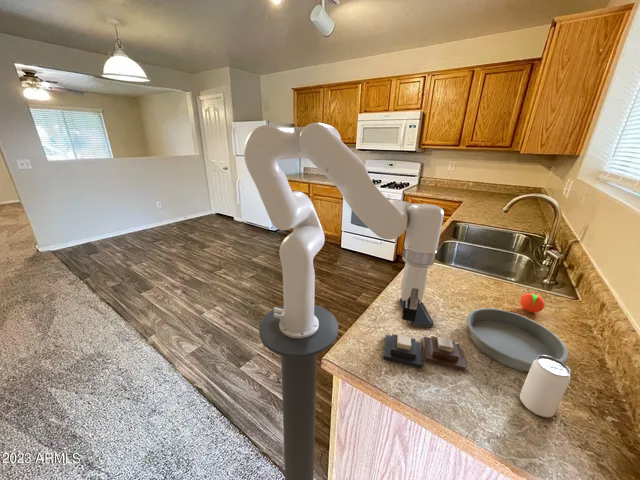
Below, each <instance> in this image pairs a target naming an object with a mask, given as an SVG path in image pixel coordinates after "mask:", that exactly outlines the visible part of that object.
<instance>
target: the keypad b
mask: <svg viewBox="0 0 640 480" xmlns="http://www.w3.org/2000/svg"><path fill="white" fill-rule="evenodd" d="M437 338H438V336H434V335H430V337H427V336H423V338H422V342H423V343H422V344H423V356H424V362H426V363H430V364H434V365H438V366H444V367H447V368H451V369H456V370H460V371H466V363H465V359H464V356H463V351H462V348H461V345H460V343H456V340H454V339H451V340H452V344H453V351H452V352H447V351H443V350H438V346H437Z"/></svg>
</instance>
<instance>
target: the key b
mask: <svg viewBox="0 0 640 480" xmlns="http://www.w3.org/2000/svg"><path fill="white" fill-rule="evenodd" d="M437 337H438V338H437V346H438V350H443V351H447V352H452V351H453V344H452V340H453V339H452V338H448V337H443V336H439V335H438V336H437Z"/></svg>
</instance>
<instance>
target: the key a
mask: <svg viewBox="0 0 640 480" xmlns="http://www.w3.org/2000/svg"><path fill="white" fill-rule="evenodd" d="M397 335H398V337H397V348H401V349H405V350H409V351H410V349H411V338H412V337H410V336H407V335H402V334H397Z"/></svg>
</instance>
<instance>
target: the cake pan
mask: <svg viewBox="0 0 640 480" xmlns="http://www.w3.org/2000/svg"><path fill="white" fill-rule="evenodd" d="M466 324H467V326H468V328H469V336H470V338H471V340H472V342H473V343H474V344H475V346H476V347H477V348H478V349H479V350H481V351H482V352H483V353H484V354H485V355H487V356H488V357H490V358H491V359H492V360H494V361H496V362H498V363H501V364H502V365H505V366H507V367H510V368H513V369H514V370H517V371H522V372H528V373H529V370H530V368H531V365H532V363H533V361H534V360H536V359H537V357H538V356H541V355H545V356H550V357H553V358H555V359H557V360H559V361H561V362H562V363H564V364H565V362H566V361H567V360H568V358H569V351H568V348H567V346H566V344H565V342H564V341H562V339H561V338H560V337H559V336H557V335H556V334H555V332H553V331H551V330H550V329H549V328H547V327H545V326H544V325H543V324H540V322H537V321H535V320H534V319H531V318H529V317H527V316H524V315H522V314H519V313H516V312H512V311H508V310H506V309H505V310H504V309H500V308H493V307H492V308H491V307H487V308H486V307H485V308H477V309H475V310H471V312H469V313H468V315H467V316H466Z"/></svg>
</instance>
